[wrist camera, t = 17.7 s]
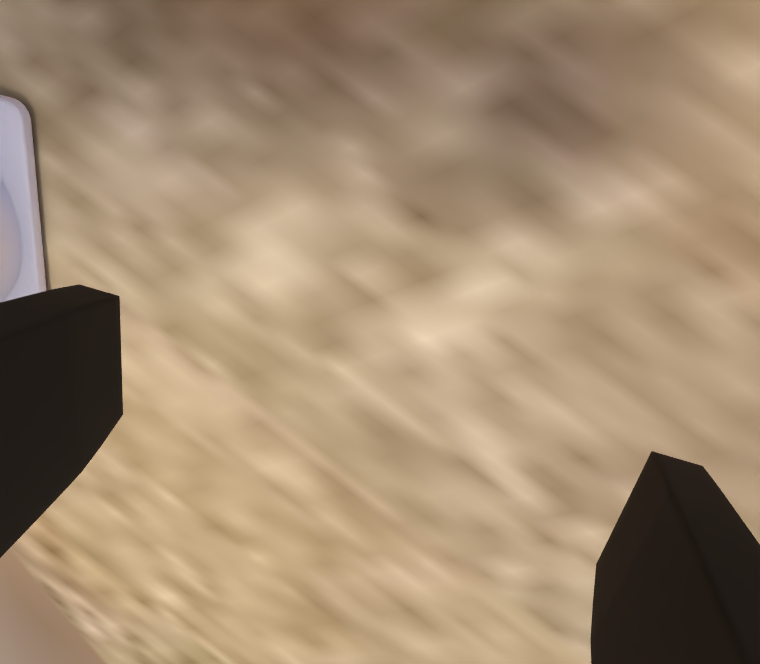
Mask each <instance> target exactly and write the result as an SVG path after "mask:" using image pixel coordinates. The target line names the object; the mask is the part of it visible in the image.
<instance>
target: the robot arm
mask: <svg viewBox="0 0 760 664" xmlns="http://www.w3.org/2000/svg"><path fill="white" fill-rule="evenodd" d="M122 415H123V402H122V368H121V334H120V300H119V296H117V295H113V294H110V293H106V292H103V291H100V290H96V289H93V288H89V287H86V286H82V285H75V286H69V287H63V288H58V289H53V290H48V291H47V289H46V279H45V268H44V257H43V246H42V235H41V224H40V213H39V202H38V191H37V180H36V169H35V158H34V147H33V136H32V125H31V118H30V114H29V112H28V110H27V109H26V107H25V106H24V105H23V104H22V103H21V102H20V101H18V100H16V99H14V98H11V97H7V96H3V95H0V557H1V556H2V555H3V554H4V553H5V552H6V551H7V550H8V549H9V548H10V547H11V546H12V545H13V544H14V543H15V542H16V541H17V540H18V539H19V538H20V537H21V536H22V535H23V534H24V533H25V531H26V530H27V529H28V528H29V527H30V526H31V525H32V524H33V523H34V522H35V521H36V520H37V519H38V518H39V517H40V516H41V515H42V514H43V513H44V512H45V511H46V509H47V508H48V507H49V506H50V505H51V504H52V503H53V502H54V501H55V500H56V499H57V498H58V497H59V496H60V495H61V494H62V492H63V491H64V490H65V489H66V488H67V487H68V486H69V485H70V484H71V483H72V482H73V481H74V480H75V478H76V477H77V476H78V475H79V474H80V473H81V472H82V471H83V469H84V468H85V467H86V465H87V464H88V463H89V461H90V460H91V459H92V457H93V456H94V455H95V453H96V452H97V451H98V449H99V448H100V447H101V445H102V444H103V442H104V441H105V440H106V438H107V437H108V435H109V434H110V432H111V431H112V429H113V428H114V427H115V425H116V424H117V422H118V421H119V419H120V418H121V416H122ZM591 663H592V664H760V544H759V543H758V542H757V540H756V539H755V537H754V536H753V535H752V533H751V532H750V530H749V529H748V528H747V526H746V525H745V523H744V522H743V521H742V519H741V518H740V516H739V515H738V513H737V512H736V511H735V509H734V508H733V506H732V505H731V504H730V502H729V501H728V499H727V498H726V497H725V495H724V494H723V492H722V491H721V490H720V488H719V487H718V486H717V484H716V483H715V482H714V480H713V479H712V478H711V476H710V475H709V474H708V472H707V471H706V470H705V469H704V467H703V466H700V465H697V464H694V463H690V462H687V461H683V460H680V459H676V458H673V457H670V456H666V455H663V454H659V453H656V452H651V454H650V456H649V458H648V460H647V462H646V464H645V466H644V468H643V470H642V472H641V474H640V476H639V478H638V480H637V482H636V484H635V486H634V488H633V491H632V493H631V495H630V497H629V499H628V501H627V503H626V505H625V507H624V509H623V511H622V513H621V515H620V517H619V519H618V521H617V523H616V525H615V527H614V529H613V531H612V533H611V535H610V538H609V540H608V542H607V544H606V546H605V548H604V550H603V552H602V554H601V556H600V558H599V560H598V562H597V564H596V575H595V586H594V598H593V611H592V626H591Z"/></svg>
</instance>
